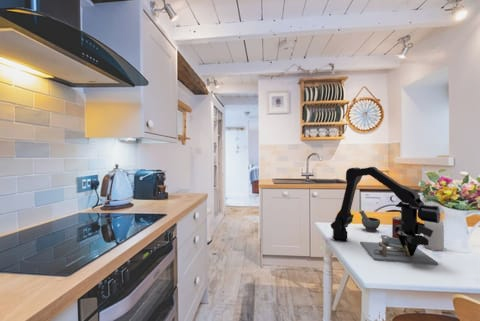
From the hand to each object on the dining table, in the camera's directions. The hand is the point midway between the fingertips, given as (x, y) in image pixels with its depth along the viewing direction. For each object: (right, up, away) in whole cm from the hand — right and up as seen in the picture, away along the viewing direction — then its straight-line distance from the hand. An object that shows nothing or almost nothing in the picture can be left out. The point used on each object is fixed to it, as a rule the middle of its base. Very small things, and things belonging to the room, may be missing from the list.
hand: (408, 253), depth 104 cm
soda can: (+11, -2, +21) cm, 24 cm away
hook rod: (-6, -1, +1) cm, 7 cm away
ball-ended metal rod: (+1, -1, +11) cm, 11 cm away
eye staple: (-10, -2, +2) cm, 11 cm away
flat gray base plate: (-2, -2, +6) cm, 6 cm away
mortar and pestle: (+4, -2, +39) cm, 39 cm away
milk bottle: (+20, -2, +11) cm, 23 cm away
